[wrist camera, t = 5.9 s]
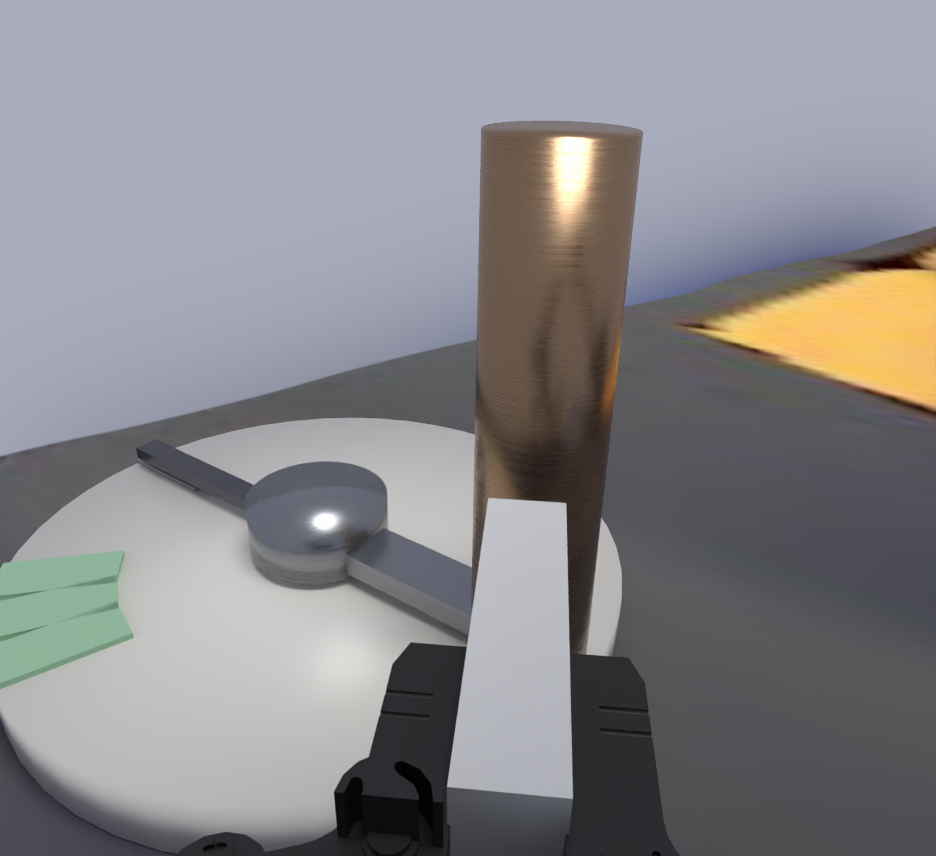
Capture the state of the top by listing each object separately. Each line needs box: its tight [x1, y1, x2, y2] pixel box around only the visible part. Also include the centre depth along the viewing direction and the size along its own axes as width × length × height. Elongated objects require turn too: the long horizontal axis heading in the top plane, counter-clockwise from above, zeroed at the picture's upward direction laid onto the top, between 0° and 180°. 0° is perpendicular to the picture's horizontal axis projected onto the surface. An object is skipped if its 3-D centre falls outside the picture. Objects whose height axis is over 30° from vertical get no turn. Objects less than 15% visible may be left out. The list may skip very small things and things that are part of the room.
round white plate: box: [0, 418, 622, 854], centre depth 30 cm, size 22×22×2 cm
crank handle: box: [136, 121, 643, 654], centre depth 26 cm, size 21×5×15 cm, turn 54°
